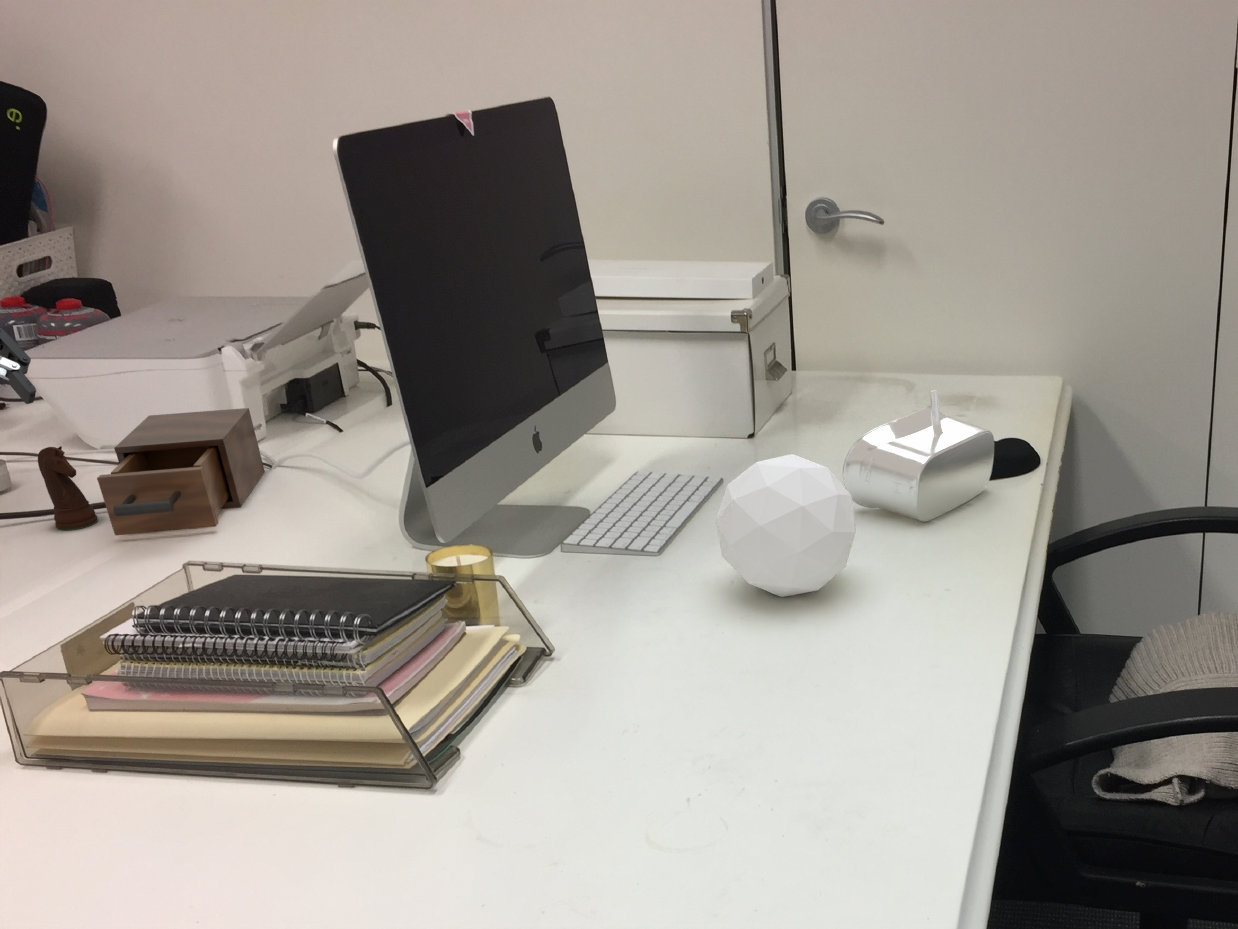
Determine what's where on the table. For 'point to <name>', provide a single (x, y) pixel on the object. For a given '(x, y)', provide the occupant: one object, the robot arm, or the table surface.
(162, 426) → the cabinet
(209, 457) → the drawer
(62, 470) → the chess piece
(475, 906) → the table surface
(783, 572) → the geometric sphere
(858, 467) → the vr headset
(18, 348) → the robot arm
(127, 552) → the table surface
